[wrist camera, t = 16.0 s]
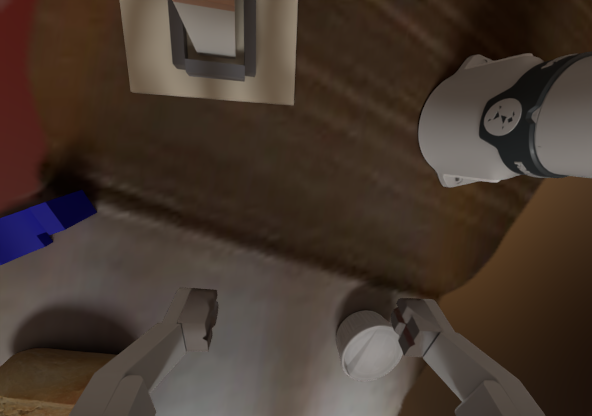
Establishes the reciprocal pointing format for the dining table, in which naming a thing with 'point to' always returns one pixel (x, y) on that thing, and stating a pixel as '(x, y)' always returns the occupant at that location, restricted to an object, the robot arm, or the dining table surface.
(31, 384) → the bread roll
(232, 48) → the white and orange block
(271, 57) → the board
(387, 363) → the ramekin
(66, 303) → the dining table surface
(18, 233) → the cable clip
